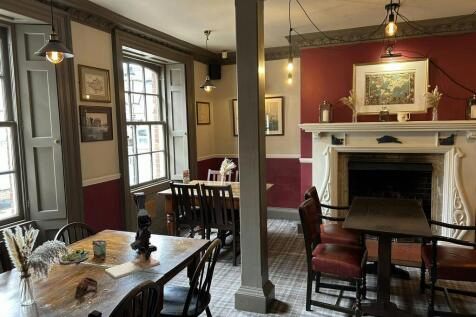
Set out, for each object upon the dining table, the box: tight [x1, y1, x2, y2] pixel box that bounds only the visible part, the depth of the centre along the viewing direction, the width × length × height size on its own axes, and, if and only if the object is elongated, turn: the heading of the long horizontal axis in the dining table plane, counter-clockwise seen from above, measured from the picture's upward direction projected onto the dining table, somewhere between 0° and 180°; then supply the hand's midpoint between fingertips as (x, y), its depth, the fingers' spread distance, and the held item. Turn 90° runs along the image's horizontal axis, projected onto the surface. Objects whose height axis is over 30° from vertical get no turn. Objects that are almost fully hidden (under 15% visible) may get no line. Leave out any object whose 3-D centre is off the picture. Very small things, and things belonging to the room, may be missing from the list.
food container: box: [91, 239, 108, 261], centre depth 219 cm, size 12×6×10 cm, turn 47°
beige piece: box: [131, 253, 161, 270], centre depth 207 cm, size 14×11×6 cm
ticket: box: [104, 261, 143, 280], centre depth 197 cm, size 14×16×1 cm
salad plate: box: [59, 247, 91, 265], centre depth 217 cm, size 19×18×5 cm
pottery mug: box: [75, 276, 99, 297], centre depth 171 cm, size 12×9×8 cm
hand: (145, 260), depth 207 cm, fingers closed on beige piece, 3 cm apart
